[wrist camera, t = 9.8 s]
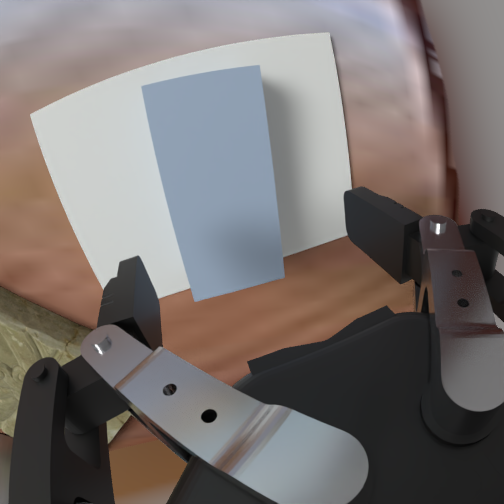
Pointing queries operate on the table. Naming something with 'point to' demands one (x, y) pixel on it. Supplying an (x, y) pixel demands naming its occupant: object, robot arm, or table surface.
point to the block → (218, 177)
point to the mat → (146, 168)
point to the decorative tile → (34, 351)
